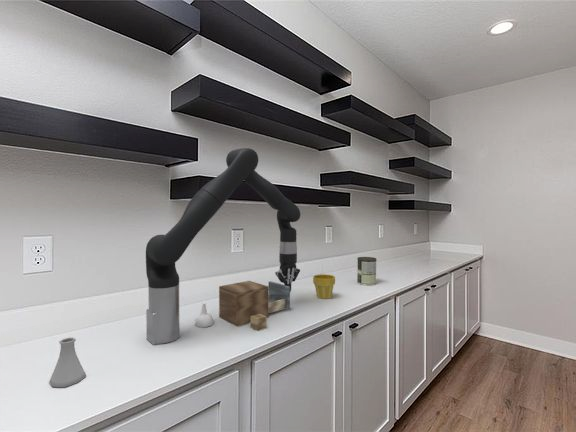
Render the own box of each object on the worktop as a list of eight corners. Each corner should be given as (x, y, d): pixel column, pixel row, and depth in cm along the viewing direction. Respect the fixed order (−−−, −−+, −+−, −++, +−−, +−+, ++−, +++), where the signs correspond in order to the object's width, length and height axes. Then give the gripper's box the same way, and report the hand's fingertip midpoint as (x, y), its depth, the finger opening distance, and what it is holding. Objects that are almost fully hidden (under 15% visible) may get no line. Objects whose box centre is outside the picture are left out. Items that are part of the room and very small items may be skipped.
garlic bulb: (215, 323, 117) (215, 301, 118) (210, 328, 111) (210, 305, 112) (198, 323, 118) (199, 301, 118) (192, 327, 111) (193, 304, 112)
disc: (280, 306, 130) (280, 301, 130) (267, 309, 126) (267, 304, 126) (270, 302, 135) (270, 297, 135) (258, 305, 131) (258, 300, 131)
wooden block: (257, 330, 109) (257, 319, 109) (250, 327, 112) (250, 316, 112) (266, 327, 112) (266, 316, 112) (259, 324, 115) (259, 313, 115)
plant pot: (308, 296, 151) (308, 276, 150) (323, 292, 157) (323, 273, 157) (324, 301, 143) (324, 280, 143) (339, 297, 150) (339, 276, 149)
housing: (237, 326, 113) (237, 293, 112) (219, 317, 122) (219, 286, 122) (268, 317, 122) (268, 286, 122) (249, 309, 131) (249, 280, 131)
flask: (42, 384, 76) (41, 343, 75) (72, 370, 83) (72, 332, 82) (63, 391, 73) (62, 348, 73) (92, 375, 80) (91, 336, 80)
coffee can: (353, 283, 177) (353, 258, 177) (364, 280, 184) (364, 256, 184) (369, 286, 170) (369, 260, 169) (379, 283, 177) (380, 258, 176)
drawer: (262, 316, 120) (262, 292, 120) (243, 308, 130) (243, 286, 129) (292, 308, 131) (292, 286, 130) (272, 301, 140) (272, 280, 140)
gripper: (282, 254, 130) (282, 296, 130) (305, 251, 138) (304, 291, 139) (270, 252, 135) (270, 292, 136) (293, 249, 144) (293, 287, 144)
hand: (287, 291), depth 137 cm, fingers closed
